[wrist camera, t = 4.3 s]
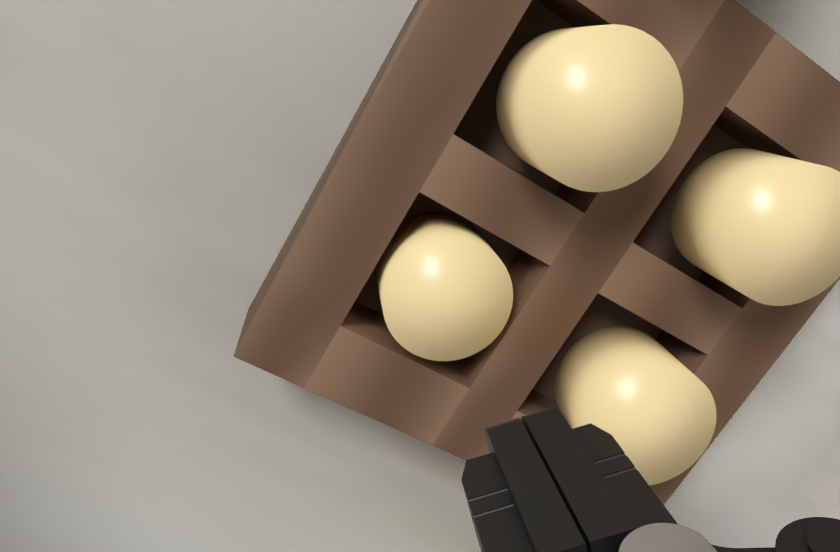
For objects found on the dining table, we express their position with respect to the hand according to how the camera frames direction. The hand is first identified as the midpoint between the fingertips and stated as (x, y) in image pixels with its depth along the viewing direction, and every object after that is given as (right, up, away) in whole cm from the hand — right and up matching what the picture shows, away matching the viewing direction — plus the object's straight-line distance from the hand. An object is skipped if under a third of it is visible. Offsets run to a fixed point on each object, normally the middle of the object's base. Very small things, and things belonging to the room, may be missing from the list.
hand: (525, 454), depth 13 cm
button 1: (-2, +4, +11) cm, 12 cm away
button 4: (+8, +6, +9) cm, 13 cm away
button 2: (+5, 0, +10) cm, 11 cm away
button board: (+3, +6, +12) cm, 14 cm away
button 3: (+2, +9, +7) cm, 11 cm away
